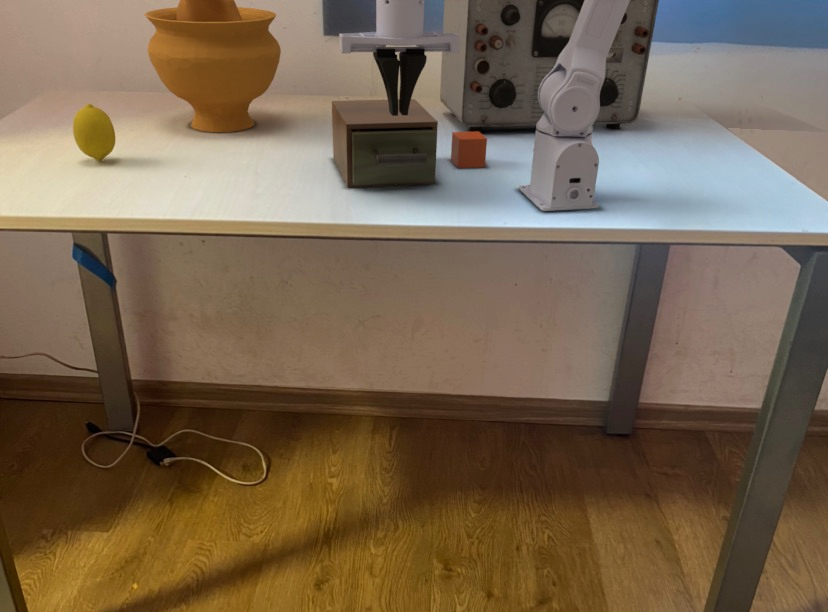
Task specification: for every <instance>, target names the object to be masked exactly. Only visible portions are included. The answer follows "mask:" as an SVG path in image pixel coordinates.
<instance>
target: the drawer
mask: <svg viewBox="0 0 828 612" xmlns="http://www.w3.org/2000/svg"><path fill="white" fill-rule="evenodd" d="M351 130H352V182H353V184H354V185H371V184H395V183H418V182H434V176H435V177H436V173H435V151H436V152H437V149H436V131H435V130H428V129H427V128H426V127H422V128H387V129H351Z"/></svg>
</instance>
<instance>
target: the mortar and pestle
mask: <svg viewBox="0 0 828 612" xmlns="http://www.w3.org/2000/svg"><path fill="white" fill-rule="evenodd" d="M144 17H146V18H147V20H148V21H149V22H150V23H151V24H152V25H153V26H154V28H155V33H154V34H153V35H152V36H151V38H150V39H149V41H148V44H147V48H146V49H147V54H148V58H149V61H150V63H151V64H152V66H153V68H154V70H155V72H156V73H157V76H158V77H159V79H160V81H161V82H162V84H163V85H164V86H165V88H166V89H167V90H168V91H169V92H171V93H172V95H174V96H175V97H177V98H179V99H181V100H184V101H186V102H187V103H188V104H189V105H190V106H191V107H192V109H193V111H194V115H193V118H192V121H191V123H190V127H191V128H192V129H193V130H196V131H197V130H198V131H200V132H207V133H208V132H209V133H232V132H241V131H245V130H248V129H251V128H252V127H253V126H255V122H254V120H253V119H252V117H251V116H250V113H249V107H250V105H251V103H253V101H254V100H255V99H257V98H259V97H260V96H262V95H263V94H264V93H265V92H267V91H268V90H269V87H270V86H271V84H272V82H273V81H274V79H275V76H276V73H277V70H278V67H279V64H280V59H281V53H282V51H281V50H282V49H281V46H280V44H279V42H278V40H277V39H276V38H275V37H274V35H273V34H272V33H271V31H270V30H269V29H270V25H271V24H272V22H273V21H275V18H276V17H277V13H275V12H273V11H271V10H266V9H259V8H255V7H254V8H253V7H241V6H240V7H239V6H237V4H236V1H235V0H179V2H178V5H177V7H168V8H166V7H165V8H160V9H154V10H150V11H146V12H145V13H144Z"/></svg>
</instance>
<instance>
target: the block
mask: <svg viewBox="0 0 828 612" xmlns="http://www.w3.org/2000/svg"><path fill="white" fill-rule="evenodd" d="M487 145H488V137H486V136H485V135H484V134H483V133H482V132H481V133H480V132H479V131H476V132H470V131H452V132H451V150H450V161H451V163H453V165H454V166H455V167H456V168H457V169H475V168H486V159H487V158H486V157H487Z"/></svg>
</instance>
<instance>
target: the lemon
mask: <svg viewBox="0 0 828 612" xmlns="http://www.w3.org/2000/svg"><path fill="white" fill-rule="evenodd" d="M72 133H73V138H74V141H75V143H76V145H77V147H78V148H79V150H80V151H81V152H82V153H83V154H84V155H86V156H88V157H90V158H92V159H94V160H95V161H96V162H99V163H100V162H103V160H104V159H105V158H106V157H108V155H110V154H111V153H112V152H113V150H114V148H115V145H116V131H115V128H114V125H113V122H112V120H111V118H110V116H109V115H108V113H106V112H105V111H104V110H103V109H101V108H99V107H97V106H94V105H93V104H92V103H86V104H85V106H84V107H82V108H80V109H79V110H78V111H77V112H76V113H75V115H74V117H73V123H72Z"/></svg>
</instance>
